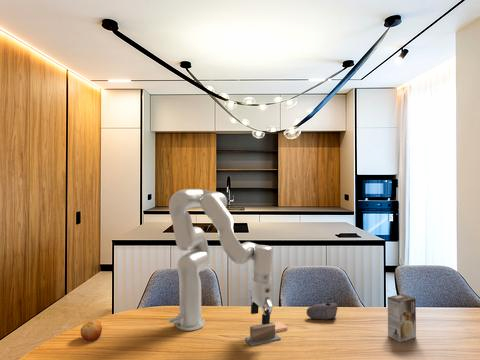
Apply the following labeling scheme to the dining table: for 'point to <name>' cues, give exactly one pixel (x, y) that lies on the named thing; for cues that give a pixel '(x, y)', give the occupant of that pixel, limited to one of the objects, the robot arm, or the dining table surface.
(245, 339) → the mat
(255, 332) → the brown rectangular pillar
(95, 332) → the fruit
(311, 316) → the perforated stone tool
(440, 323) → the dining table surface
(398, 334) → the coffee box
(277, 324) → the tile
